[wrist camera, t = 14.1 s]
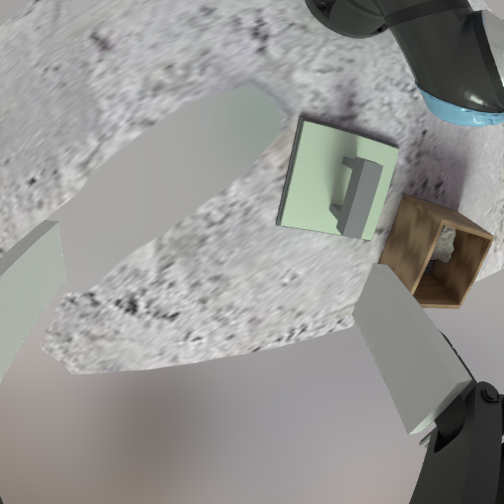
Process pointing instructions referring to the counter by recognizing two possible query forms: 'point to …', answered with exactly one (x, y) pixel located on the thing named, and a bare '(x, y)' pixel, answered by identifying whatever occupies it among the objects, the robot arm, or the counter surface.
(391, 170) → the lid
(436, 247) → the stone
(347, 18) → the robot arm
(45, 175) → the counter surface
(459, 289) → the crate
